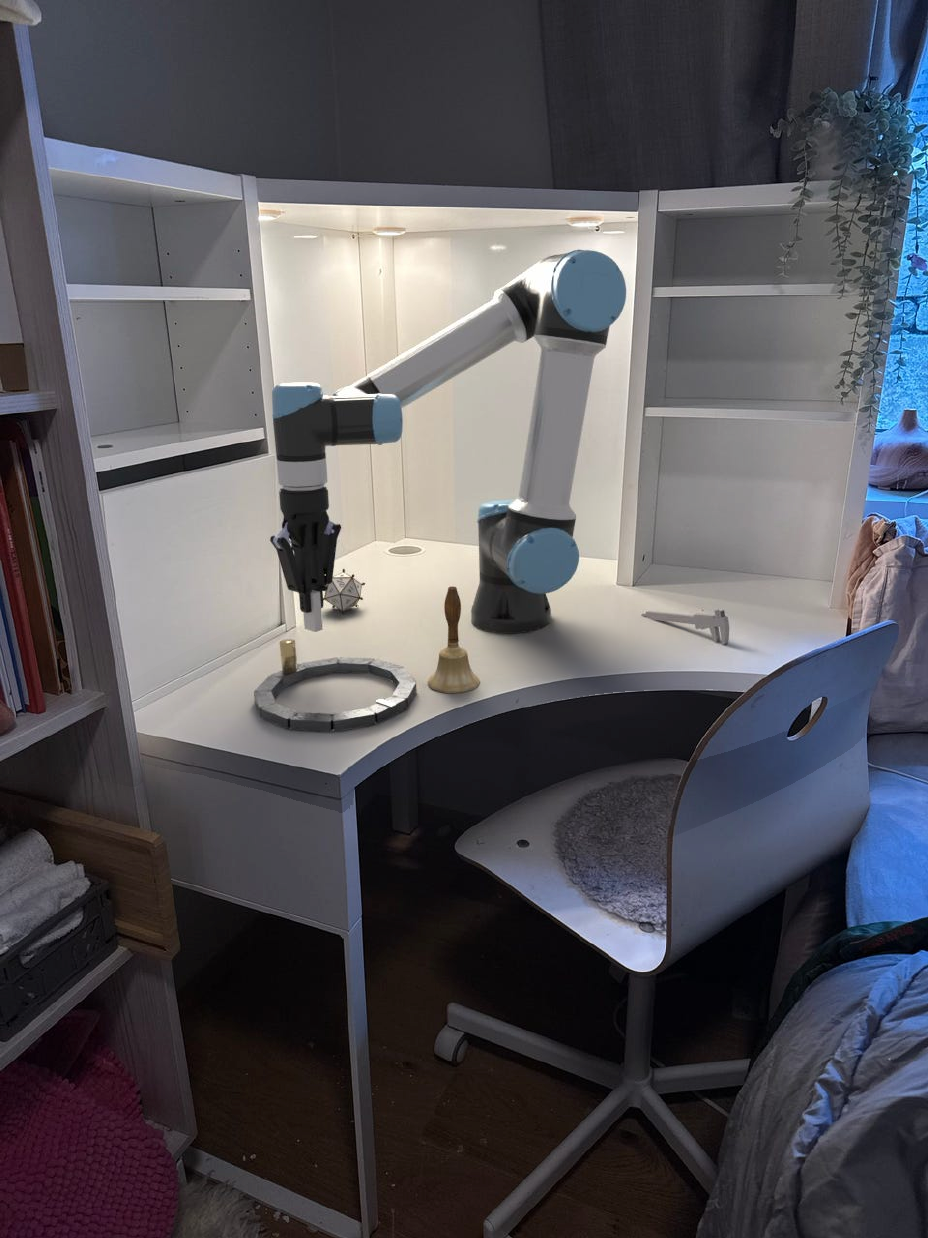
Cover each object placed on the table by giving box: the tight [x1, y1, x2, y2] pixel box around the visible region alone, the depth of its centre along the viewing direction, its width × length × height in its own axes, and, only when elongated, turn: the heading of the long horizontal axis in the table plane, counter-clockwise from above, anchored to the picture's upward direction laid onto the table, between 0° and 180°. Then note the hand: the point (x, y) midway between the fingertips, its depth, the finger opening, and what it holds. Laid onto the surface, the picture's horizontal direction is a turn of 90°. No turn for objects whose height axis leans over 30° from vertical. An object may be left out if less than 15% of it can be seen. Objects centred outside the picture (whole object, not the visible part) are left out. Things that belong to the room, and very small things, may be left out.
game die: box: [323, 568, 366, 616], centre depth 176 cm, size 9×8×10 cm
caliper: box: [640, 609, 730, 646], centre depth 161 cm, size 20×1×6 cm, turn 33°
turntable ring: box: [253, 638, 418, 733], centre depth 135 cm, size 24×24×7 cm
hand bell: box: [427, 586, 481, 694], centre depth 138 cm, size 8×8×16 cm
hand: (313, 629), depth 145 cm, fingers closed
